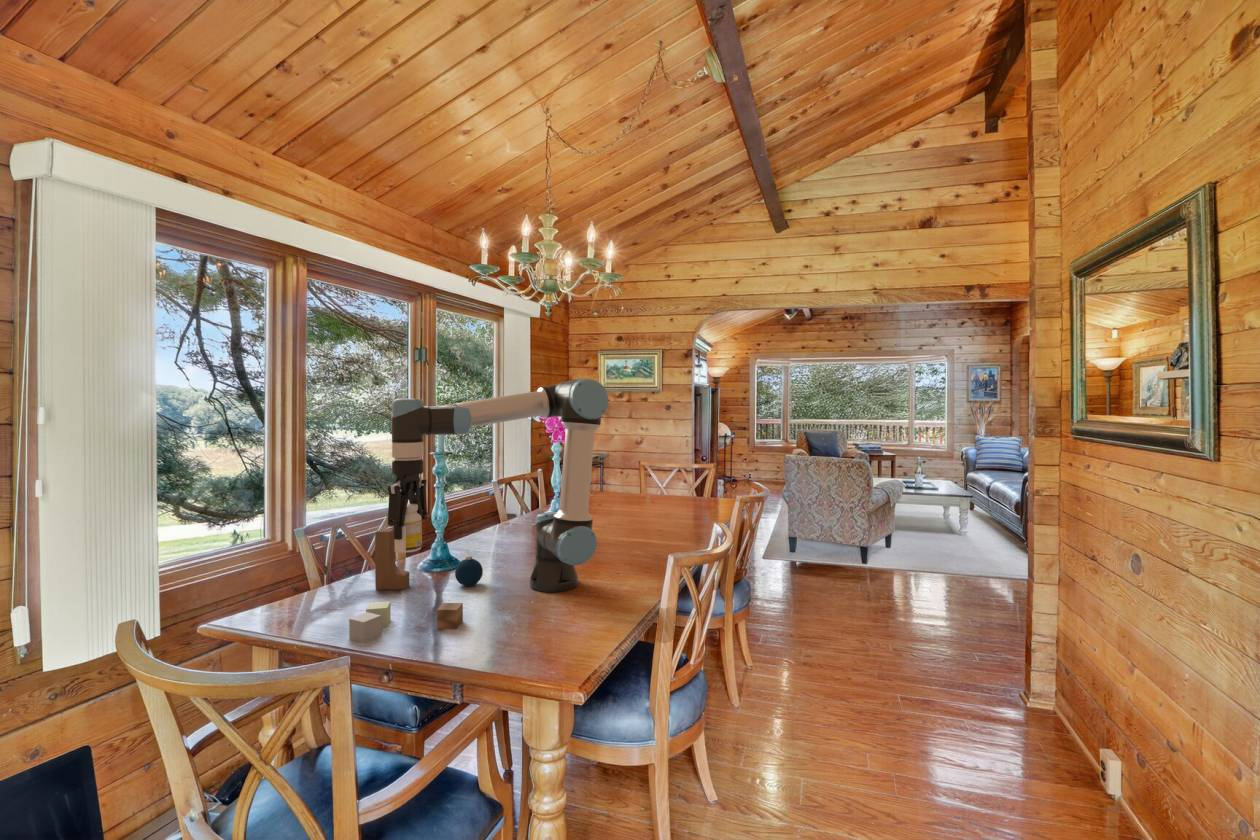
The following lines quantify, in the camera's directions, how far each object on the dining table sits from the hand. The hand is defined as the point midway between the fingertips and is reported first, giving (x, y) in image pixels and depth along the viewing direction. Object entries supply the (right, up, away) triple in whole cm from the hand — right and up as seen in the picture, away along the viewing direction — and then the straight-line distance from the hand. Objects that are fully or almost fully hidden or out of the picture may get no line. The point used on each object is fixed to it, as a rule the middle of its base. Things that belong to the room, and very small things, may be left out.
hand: (408, 548), depth 146 cm
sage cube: (-8, -20, +1) cm, 22 cm away
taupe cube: (-8, -20, -7) cm, 23 cm away
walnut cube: (+11, -20, 0) cm, 23 cm away
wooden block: (-17, -19, +30) cm, 40 cm away
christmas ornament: (+6, -19, +33) cm, 39 cm away
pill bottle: (0, -1, 0) cm, 1 cm away
